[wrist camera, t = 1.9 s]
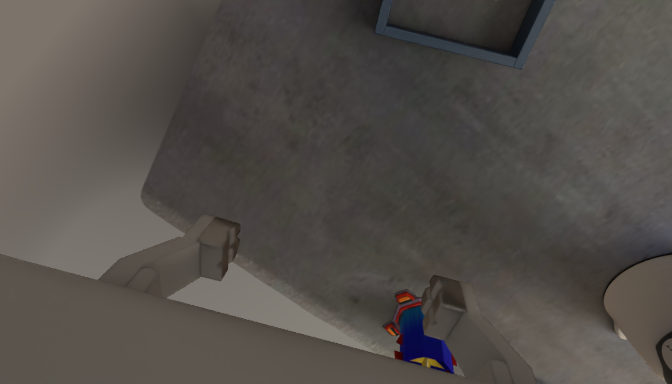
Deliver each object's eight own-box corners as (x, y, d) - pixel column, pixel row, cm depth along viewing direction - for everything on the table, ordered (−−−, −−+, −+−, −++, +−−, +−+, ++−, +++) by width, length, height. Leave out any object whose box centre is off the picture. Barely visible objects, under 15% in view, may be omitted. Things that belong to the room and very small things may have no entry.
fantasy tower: (381, 331, 60) (377, 400, 50) (396, 287, 54) (396, 355, 43) (445, 347, 59) (455, 420, 49) (469, 304, 53) (486, 377, 43)
